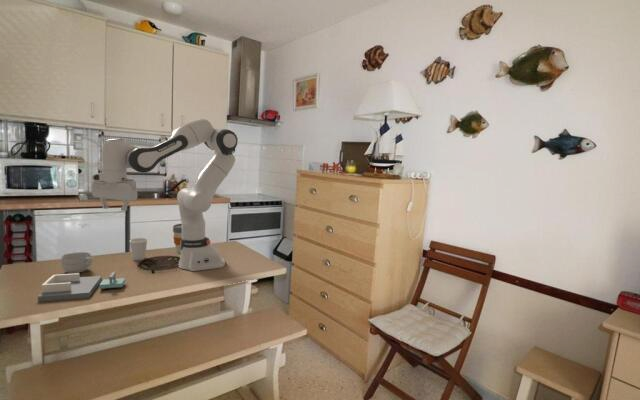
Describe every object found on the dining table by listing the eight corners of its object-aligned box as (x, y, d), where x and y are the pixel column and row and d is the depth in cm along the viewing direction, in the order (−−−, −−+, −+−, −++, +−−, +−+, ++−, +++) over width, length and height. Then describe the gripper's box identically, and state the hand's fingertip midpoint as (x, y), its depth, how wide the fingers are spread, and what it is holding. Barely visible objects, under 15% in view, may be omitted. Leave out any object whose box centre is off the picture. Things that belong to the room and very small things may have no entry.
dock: (101, 280, 145) (101, 269, 145) (89, 297, 129) (88, 285, 128) (57, 283, 140) (56, 271, 139) (38, 301, 123) (37, 288, 122)
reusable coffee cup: (199, 248, 198) (199, 224, 196) (191, 255, 185) (191, 228, 183) (178, 247, 198) (178, 222, 196) (168, 254, 185) (168, 227, 183)
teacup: (57, 272, 152) (56, 255, 151) (83, 265, 161) (82, 249, 160) (74, 278, 145) (73, 261, 144) (100, 271, 155) (99, 255, 154)
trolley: (125, 283, 143) (124, 271, 142) (122, 289, 138) (121, 276, 137) (103, 285, 140) (103, 272, 140) (99, 290, 135) (99, 277, 134)
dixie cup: (130, 256, 178) (130, 238, 176) (148, 255, 181) (147, 237, 180) (129, 261, 170) (128, 242, 169) (147, 260, 174) (147, 241, 172)
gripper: (141, 178, 142) (141, 210, 144) (101, 175, 147) (101, 206, 149) (129, 179, 136) (129, 213, 138) (88, 175, 141) (88, 208, 142)
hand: (114, 209), depth 143 cm, fingers open, 8 cm apart
